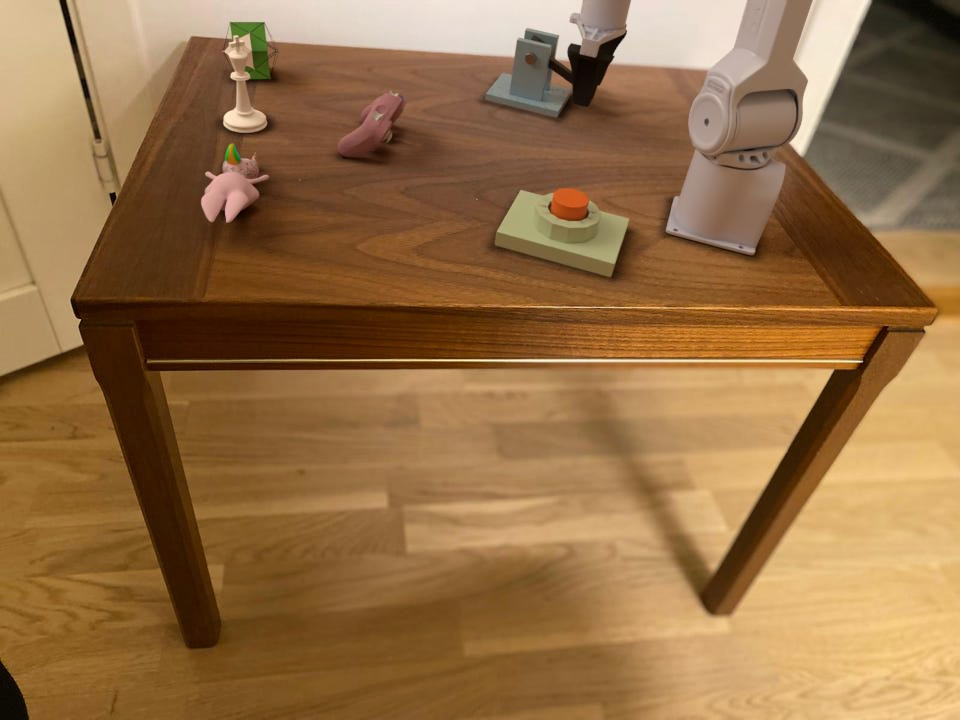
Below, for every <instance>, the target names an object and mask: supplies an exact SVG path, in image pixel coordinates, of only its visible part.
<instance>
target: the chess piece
mask: <svg viewBox="0 0 960 720" xmlns="http://www.w3.org/2000/svg"><path fill="white" fill-rule="evenodd" d="M233 39H234V42H232V41H229V42H228V46H229V47H230V48H235V51H232V52H230V53H229V56H228V58H229V62H231V63H230V64H231V66H232V68H233V71H234V72H233V71H232V72H231V73H230V77H229V78H230V79H231V80H233V81H235V82H236V98H235V99H236V101H235V103H236V104H235V107H234V108H233V109H230V110H229V111H227V112H226V113H225V114H224V115H223V119H222V120H223V126H224V127H225V128H226V129H227V130H229V131H232V132H234V133H240V134H251V133H256V132H260V131H262V130H264V129H265V128H266V127H267V125H268V121H267V116H266V115H265V114H264V113H263V112H262V111H260V110H258V109H255V108H254V107H252V104H251V101H250V96H249V92H248V88H247V87H248V86H247V83H246V82H247V81H248V80H251V79H250V75H249V73H247V72H245V71H244V70H245V67H246V61H247V57H248V55H247V53H245V52H243V51H240V46H245V41H243V40H241V41H239V36H237V35H235V36H233Z"/></svg>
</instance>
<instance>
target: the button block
mask: <svg viewBox="0 0 960 720" xmlns="http://www.w3.org/2000/svg"><path fill="white" fill-rule="evenodd" d="M553 194H554V192H550V193H547V194H545V195H542V194H538V193H535V192H531V191H528V190H527V191H526V190H523V189H520V190H519V192H518V194H517V196H516V197H515V199H514V200H513V203H512V204H511V206H510V208H509V210H508V211H507V213H506V215H505V216H504V218H503V220H502V222H501V223H500V225H499V227H498V228H497V230H496V234H495V239H494V246H496V247H499V248H504V249H507V250H510V251H515V252H518V253H521V254H525V255H529V256H532V257H536V258H540V259H542V260H547V261H550V262H554V263H557V264H561V265H563V266H564V265H565V266H568V267H571V268H576V269H579V270H583V271H586V272H590V273H593V274H596V275H597V274H598V275H601V276H605V277H608V278H612V275H613V272H614V270H615V267H616V263H617V260H618V257H619V254H620V251H621V248H622V245H623V242H624V239H625V235H626V232H627V229H628V225H629V223H630V218H629V217H625V216H622V215H618V214H615V213H610V212H607V211H603V210H600V209H599V207H598V205H597V204H596V203H594V201H591V200H590V199H589V204H588V208H587V212H586V216H585V218H584V219H583V220H581V221H567V220H563V219H559V218H557V217H556V216H554V215H553V214H552V213H551V211H550V208H551V203H552V199H553Z"/></svg>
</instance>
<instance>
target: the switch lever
mask: <svg viewBox="0 0 960 720" xmlns="http://www.w3.org/2000/svg"><path fill="white" fill-rule="evenodd" d="M530 40H532V41H536V42H541V43H545V42H543V41H542V40H541V39H539V38H538V37H537V36H535V35H534V36H533V37H532V38H531V39H530ZM545 44H546V43H545ZM548 67H549V68H550V69H552V70H553V73H556V74H557V75H559V76H560V77H562V79H564V80H565V81H567V82H568V83H570V84H571V85H572V70H571V68H568V67H567V66H566V65H564V64H563V63H562V62H561V61H559V60H558V59H556V57H555V58H553V57H552V56H551V55H550V60H549V65H548ZM598 87H599V86H597V89H596V92H595V94H594V97H595V96H596V94H597V92H598Z"/></svg>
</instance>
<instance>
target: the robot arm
mask: <svg viewBox="0 0 960 720" xmlns="http://www.w3.org/2000/svg"><path fill="white" fill-rule="evenodd" d="M813 1H814V0H746V3H745V6H744V10H743V13H742V17H741V21H740V24H739V28H738V32H737V35H736V38H735V42H734V45H733V48H732V49H731V50H730V51H728V53H727V54H725V55H724V56H723V57H722V58H721V59H719V60H718V61H717V62H716V63H715V64H714V65H713V66H711V67H710V68H709V69H708V71H706V74H705V79H704V82H703V84H702V87H701V89H700V91H699V92H698V94H697V95H696V97H695V98H694V100H693V102H692V104H691V107H690V109H689V112H688V113H689V114H688V121H687V126H688V127H687V128H688V133H689V137H690V140H691V145H692V147H694V148H695V150H694V153H693V155H692V158H691V161H690V164H689V168H688V171H687V174H686V177H685V179H684V182H683V184H682V188H681V191H680V193H679V195H678V196H677V195H675V196H674V197H673V199H672V200H673V201H672V204H671V208H670V212H669V216H668V219H667V224H666V228H665V232H666V233H667V234H669V235H671V236H675V237H679V238H683V239H687V240H689V241H690V240H691V241H693V242H698V243H701V244H704V245H705V244H706V245H709V246H713V247H716V248H720V249H723V250H728V251H731V252H736V253H740V254H743V255H748V256H754V255H755V254H756V249H757V246H758V244H759V242H760V239H761V237H762V235H763V232H764V230H765V228H766V226H767V224H768V221H769V219H770V217H771V214H772V212H773V210H774V207H775V205H776V203H777V200H778V198H779V195H780V193H781V189H782V187H783V184H784V179H785V176H786V170H787V165H786V164H785V163H783V162H781V161H778V160H776V159H775V157H776V154H777V152H778V149H779V148H782V147H785V146H786V145H788V144H789V143H791V142H792V141H793V140H794V139H795V137H797V135H798V133H799V131H800V128H801V126H802V122H803V117H804V116H803V114H804V109H803V108H804V106H803V105H804V102H803V101H804V95H805V92H806V89H807V86H808V83H809V80H808V77H807V76H806V74H805V73H804V72H803V70H802V69H801V68H800V67H799V65H798V64H797V63H796V61H795V60H794V59H795V58H794V57H795V55H796V52H797V48H798V45H799V43H800V41H801V40H800V39H801V37H802V34H803V32H804V31H803V30H804V28H805V25H806V22H807V20H808V16H809V13H810V11H811V7H812V4H813ZM631 3H632V0H582V4H581V9H580V13H578V12H572V13H571V14H570V16H569V20H568V22H569V23H571V24H574V25H577V28H578V31H579V33H580V36H581V44H578V43H572V42H571V43H570V44H569V45H568V46H567V50H566V52H567V53H566V54H567V58H568V61H569V64H570V70H571V71H572V84H571V86H572V88H571V89H572V91H571V95H572V96H571V97H572V104H573V105H576V106H580V107H585V108H589V107H590V105H591V103H592V101H593V99H594V97H595V96H594V94H595V92H596V89H597V90H598V88H597V86H598V87H600V86H601V84H602V82H603V80H604V79H605V76H606V74H607V71H608V68H609V66H610V65H611V63H612V62H613V60H614V59H615V56H616V55H614V54H615V52H616V50H617V48H618V47H619V45H620V44H621V43H622V42H623V40H624V39H625V38H626V36H627V35H628V34H627V33H628V29H627V27H628V26H627V19H628V15H629V11H630V8H631V7H630V6H631ZM596 93H597V92H596ZM595 95H596V94H595Z"/></svg>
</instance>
